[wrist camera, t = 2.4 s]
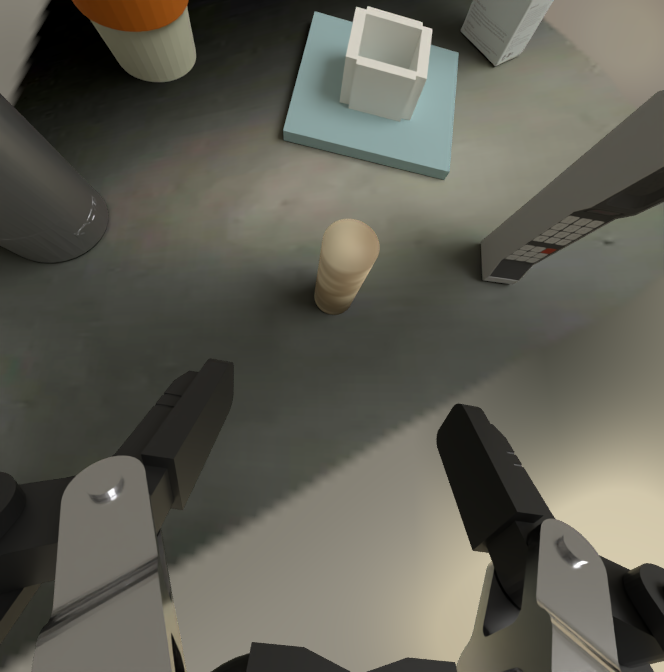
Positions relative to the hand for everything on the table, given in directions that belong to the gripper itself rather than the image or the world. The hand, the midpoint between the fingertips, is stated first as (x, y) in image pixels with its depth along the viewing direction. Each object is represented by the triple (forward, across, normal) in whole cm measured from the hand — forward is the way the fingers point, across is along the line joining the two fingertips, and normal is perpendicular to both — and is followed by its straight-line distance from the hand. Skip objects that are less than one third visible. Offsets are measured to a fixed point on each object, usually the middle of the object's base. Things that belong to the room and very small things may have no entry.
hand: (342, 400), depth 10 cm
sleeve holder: (+39, -1, -16) cm, 42 cm away
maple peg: (+19, 0, +4) cm, 20 cm away
